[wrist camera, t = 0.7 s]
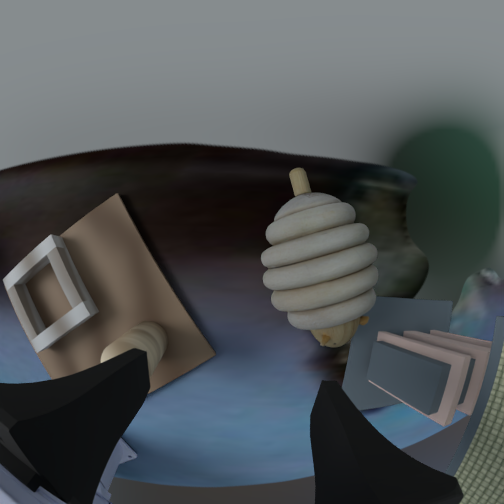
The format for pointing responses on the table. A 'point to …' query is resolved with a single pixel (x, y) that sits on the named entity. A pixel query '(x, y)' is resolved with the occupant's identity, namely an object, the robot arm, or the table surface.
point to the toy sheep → (320, 264)
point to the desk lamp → (435, 382)
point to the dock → (100, 297)
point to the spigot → (140, 343)
